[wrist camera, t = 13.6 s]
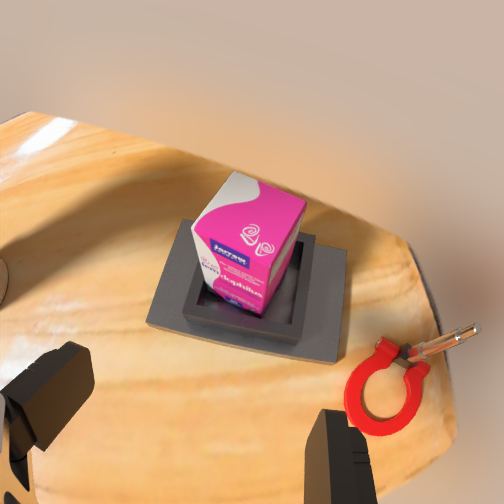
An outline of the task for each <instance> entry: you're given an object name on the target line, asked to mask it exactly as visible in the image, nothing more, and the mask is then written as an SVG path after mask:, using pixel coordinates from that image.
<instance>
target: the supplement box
mask: <svg viewBox="0 0 504 504" xmlns="http://www.w3.org/2000/svg"><path fill="white" fill-rule="evenodd" d="M306 205H307V202H306V201H305V200H303V199H300V198H298V197H296V196H294V195H291V194H289V193H287V192H284V191H282V190H280V189H278V188H275V187H273V186H271V185H268V184H266V183H263V182H261V181H259V180H256V179H254V178H252V177H249V176H247V175H244V174H242V173H239V172H237V171H233V173H232V174H231V175H230V176H229V178H228V179H227V180H226V182H225V183H224V184H223V186H222V187H221V188H220V190H219V191H218V192H217V194H216V195H215V196H214V198H213V199H212V200H211V201H210V203H209V204H208V205H207V207H206V208H205V209H204V210H203V212H202V213H201V214H200V216H199V217H198V218H197V220H196V221H195V222H194V224H193V225H192V226H191V230H192V234H193V238H194V242H195V245H196V249H197V253H198V257H199V260H200V264H201V267H202V271H203V274H204V278H205V282H206V285H207V289H208V292H210V293H212V294H214V295H216V296H218V297H220V298H222V299H224V300H226V301H228V302H230V303H232V304H234V305H236V306H238V307H239V308H241V309H243V310H245V311H247V312H249V313H251V314H252V315H254V316H256V317H257V318H262V316H263V314H264V312H265V311H266V309H267V307H268V305H269V304H270V302H271V300H272V298H273V296H274V294H275V293H276V291H277V289H278V287H279V285H280V283H281V282H282V280H283V278H284V276H285V274H286V272H287V269H288V265H289V262H290V259H291V255H292V252H293V249H294V246H295V242H296V239H297V236H298V232H299V229H300V225H301V222H302V218H303V215H304V212H305V208H306Z"/></svg>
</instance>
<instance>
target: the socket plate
mask: <svg viewBox="0 0 504 504" xmlns="http://www.w3.org/2000/svg"><path fill="white" fill-rule="evenodd" d="M194 222H195V221H192V220H186V219H183V220H182V222H181V225H180V227H179V230H178V233H177V235H176V238H175V240H174V243H173V246H172V248H171V251H170V253H169V256H168V259H167V261H166V264H165V267H164V270H163V272H162V275H161V278H160V281H159V284H158V286H157V289H156V292H155V295H154V298H153V301H152V304H151V307H150V310H149V313H148V316H147V319H146V323H147V324H148V325H149V326H150V327H154V328H157V329H161V330H164V331H168V332H171V333H175V334H179V335H183V336H186V337H190V338H194V339H198V340H202V341H206V342H210V343H215V344H219V345H223V346H228V347H232V348H237V349H241V350H246V351H251V352H256V353H261V354H266V355H271V356H277V357H282V358H288V359H293V360H299V361H306V362H312V363H319V364H325V365H333V364H335V363H336V361H337V354H338V346H339V338H340V329H341V320H342V310H343V299H344V287H345V273H346V257H347V250H343V249H338V248H333V247H328V246H323V245H318V244H315V237H316V235H311V234H306V233H301V232H298V236H297V239H296V242H295V246H294V249H293V252H292V255H291V259H290V262H289V265H288V269H287V272H286V274H285V276H284V278H283V280H282V282H281V283H280V285H279V287H278V289H277V291H276V293H275V294H274V296H273V298H272V300H271V302H270V304H269V305H268V307H267V309H266V311H265V312H264V314H263V316H262V318H257V317H256V316H254V315H252V314H251V313H249V312H247V311H245V310H243V309H241V308H239V307H238V306H236V305H234V304H232V303H230V302H228V301H226V300H224V299H222V298H220V297H218V296H216V295H214V294H212V293H210V292H208V289H207V285H206V282H205V278H204V274H203V271H202V267H201V264H200V260H199V257H198V253H197V249H196V245H195V242H194V238H193V234H192V230H191V226H192V225H193V224H194Z"/></svg>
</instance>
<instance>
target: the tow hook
mask: <svg viewBox="0 0 504 504" xmlns="http://www.w3.org/2000/svg"><path fill="white" fill-rule="evenodd" d="M480 332H481V326H480V324H479V323H475V324H473V325H471V326H469V327H466V328H464V329H463V328H458V329H456V330H454V331H452V332H450V333H447V334H445V335H443V336H441V337H439V338H436V339H434V340H432V341H429V342H421V343H419V344H417V345H415V346H411V345H409V344H408V343H407V344H405V345H402V346H400V347H398V346H396V345H395V344H393V343H391V342H390V341H388V340H387V339H385V338H383V337H381V338H380V339H379V341H378V342H377V344H376V346H375V349H376V351H375V353H374V355H373V357H370V358H368V359H366V360H365V361H364V362H362V363H361V364H359V365H358V366H357V368H356V369H355V370H354V371H353V372H352V374H351V376H350V377H349V379H348V381H347V384H346V388H345V391H344V407H345V411H346V414H347V416H348V418H349V420H350V421H351V423H352V424H353V425H354V426H355V427H358V429H359V430H360V431H361V432H364V433H366V434H368V435H373V436H386V435H391V434H393V433H396V432H398V431H400V430H401V429H403V428H404V427H405V426H406V425H407V424H409V422H410V421H411V420H412V419H413V417H414V416H415V414H416V412H417V410H418V408H419V406H420V401H421V397H422V384H421V382H422V380H423V378H424V377H425V376H426V375H427V374H428V373H429V371H430V366H429V365H428V364H426V363H424V362H423V361H422V360H425V359H426V358H428V357H429V356H430V355H432V354H435V353H437V352H440V351H443V350H446V349H448V348H451V347H454V346H456V345H459V344H461V343H464V341H465V340H466V339H467V338H469V337H471V336H474V335H476V334H478V333H480ZM392 361H394V362H396V363H397V364H399V365H401V366H402V367H404V368H406V369H407V371H406V373H405V375H404V381H405V383H406V387H407V398H406V402H405V404H404V406H403V408H402V410H401V411H400V412H399V414H397V415H396V416H395V417H394V418H392V419H389V420H387V421H381V422H380V421H375V420H373V419H371V418H370V417H369V416H367V415H366V413H365V412H364V410H363V408H362V405H361V390H362V387H363V385H364V383H365V381H366V380H367V378H368V377H369V376H370V375H371V374H372V373H374V372H375V371H377V370H380V369H386V368H388V367H389V366H390V364H391V362H392Z"/></svg>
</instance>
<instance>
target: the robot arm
mask: <svg viewBox="0 0 504 504" xmlns="http://www.w3.org/2000/svg"><path fill="white" fill-rule="evenodd" d="M7 283H8V271H7V267H6V265H5V263H4V261H3V260H1V259H0V304H1V302H2V300H3V298H4V295H5V292H6V288H7ZM94 384H95V380H94V374H93V368H92V362H91V355H90V351H89V349H88V348H86V347H83V346H81V345H79V344H76V343H74V342H72V341H68V342H67V343H65V344H64V345H63V346H62V347H61V348H59V349H58V350H57V349H54V350H52V351H49V352H47V353H44V354H43V355H42V356H40V357H39V358H38V359H37V360H36V361H35V362H34V363H32V364H31V365H30V366H28V367H27V369H25V370H24V371H23V372H21V373H20V374H19V375H18V376H17V377H16V378H15V379H13V380H12V381H11V382H10V383H9V384H8V385H7V386H5V387H4V388H3V389H2V390H1V391H0V504H39V503H38V501H37V499H36V495H35V487H34V478H33V468H32V454H31V450H30V449H31V448H32V447H33V445H35V446H36V447H38V448H39V449H41V450H42V451H44V452H45V450H46V449H47V448H48V447H49V445H50V444H51V443H52V442H53V440H54V439H55V438H56V437H57V435H58V434H59V433H60V432H61V430H62V429H63V428H64V427H65V425H66V424H67V423H68V422H69V421H70V419H71V418H72V417H73V416H74V415H75V413H76V412H77V411H78V410H79V408H80V407H81V406H82V405H83V404H84V402H85V401H86V400H87V399H88V398H89V396H90V395H91V394H92V392H93V389H94ZM304 504H378V503H377V498H376V492H375V486H374V480H373V474H372V468H371V465H370V458H369V454H368V447H367V442H366V439H365V437H364V436H363V434H362V433H361V431H360V430H359V429H358V427H349V426H348V420H347V414H346V412H345V411H338V410H328V409H322V410H321V411H320V413H319V415H318V417H317V420H316V422H315V424H314V426H313V428H312V430H311V433H310V435H309V437H308V439H307V443H306V448H305V479H304Z"/></svg>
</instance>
